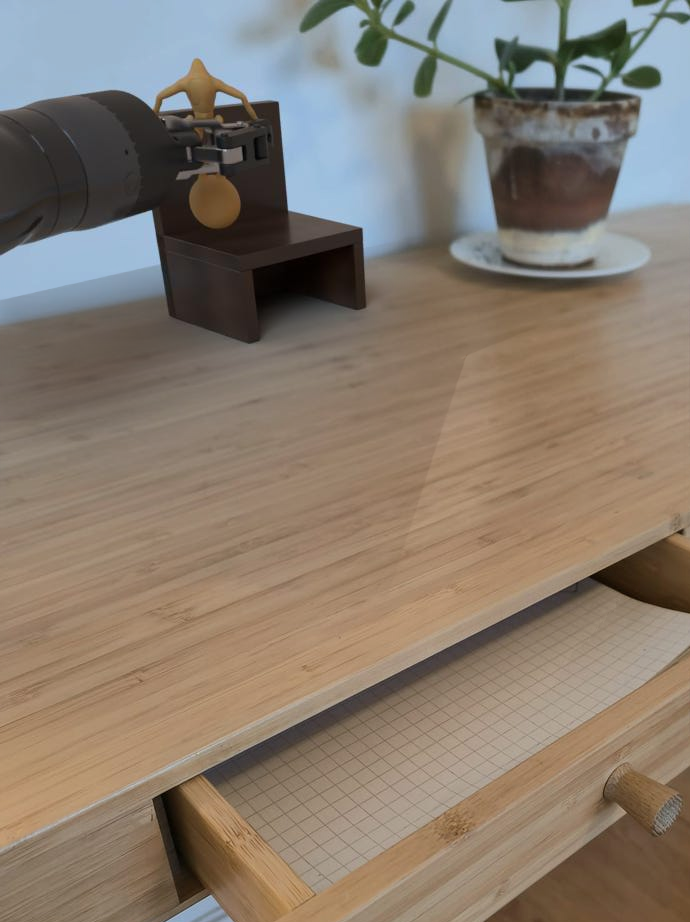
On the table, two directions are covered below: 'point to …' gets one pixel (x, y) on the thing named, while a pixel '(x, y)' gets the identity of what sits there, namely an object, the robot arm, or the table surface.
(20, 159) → the robot arm
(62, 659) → the table surface
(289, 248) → the wooden miniature chair
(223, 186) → the figurine
